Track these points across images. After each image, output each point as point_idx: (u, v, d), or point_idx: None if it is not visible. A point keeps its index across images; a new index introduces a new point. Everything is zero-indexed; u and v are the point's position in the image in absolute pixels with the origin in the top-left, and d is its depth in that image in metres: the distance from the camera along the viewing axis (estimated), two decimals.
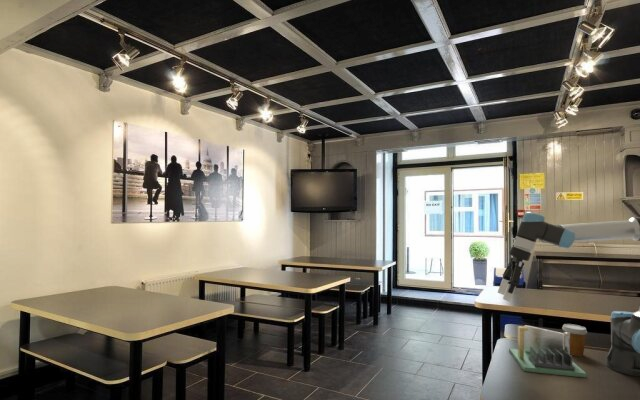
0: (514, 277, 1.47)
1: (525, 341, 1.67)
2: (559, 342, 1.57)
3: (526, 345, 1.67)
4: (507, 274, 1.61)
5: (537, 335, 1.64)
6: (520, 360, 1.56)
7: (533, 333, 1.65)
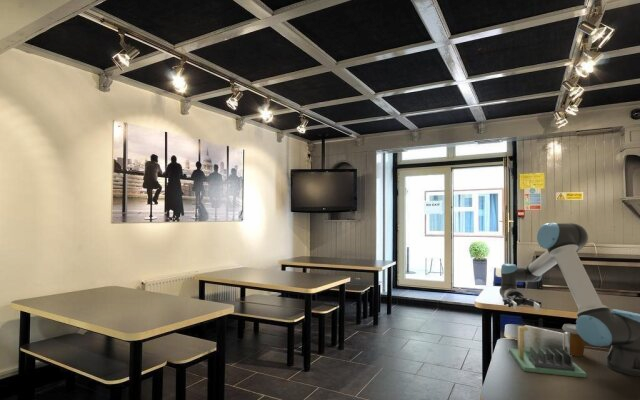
0: None
1: (525, 341, 1.67)
2: (559, 342, 1.57)
3: (526, 345, 1.67)
4: (530, 304, 1.80)
5: (537, 335, 1.64)
6: (520, 360, 1.56)
7: (533, 333, 1.65)
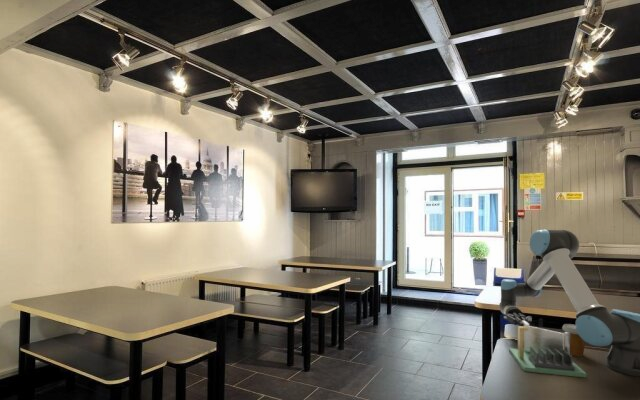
0: (512, 322, 1.81)
1: (525, 341, 1.67)
2: (559, 342, 1.57)
3: (526, 345, 1.67)
4: None
5: (537, 335, 1.64)
6: (520, 360, 1.56)
7: (533, 333, 1.65)
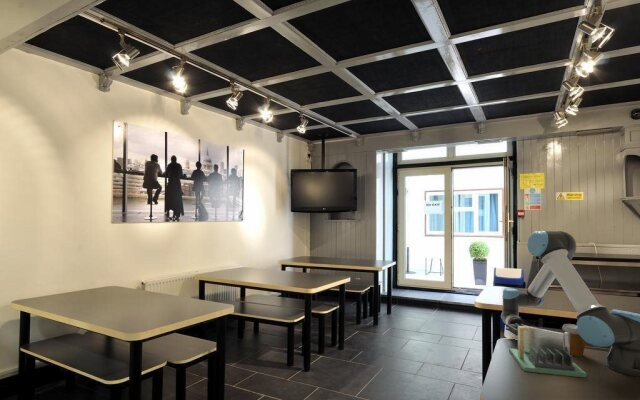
0: (513, 333, 1.77)
1: (524, 342, 1.66)
2: (559, 342, 1.57)
3: (525, 346, 1.66)
4: None
5: (536, 335, 1.63)
6: (520, 360, 1.56)
7: (532, 334, 1.64)
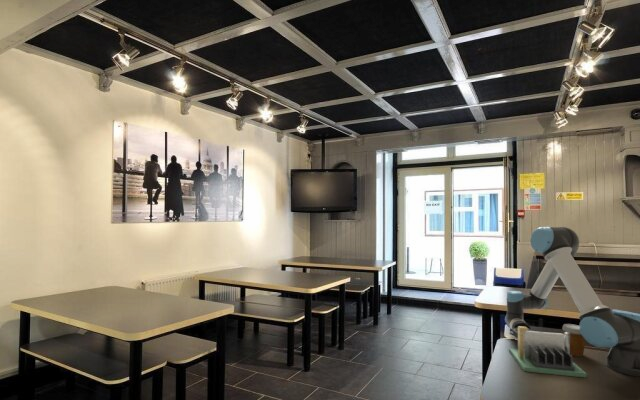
0: None
1: (525, 348, 1.59)
2: (560, 343, 1.56)
3: (527, 352, 1.58)
4: None
5: (538, 339, 1.58)
6: (520, 360, 1.56)
7: (534, 338, 1.58)
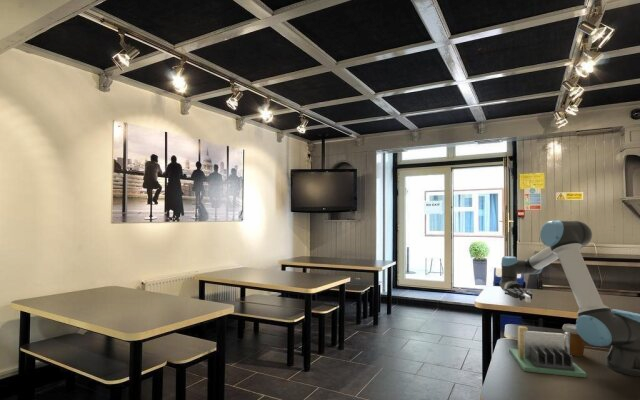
0: (513, 296, 1.81)
1: (525, 348, 1.58)
2: (560, 343, 1.56)
3: (527, 352, 1.58)
4: None
5: (538, 339, 1.58)
6: (520, 360, 1.56)
7: (534, 338, 1.58)
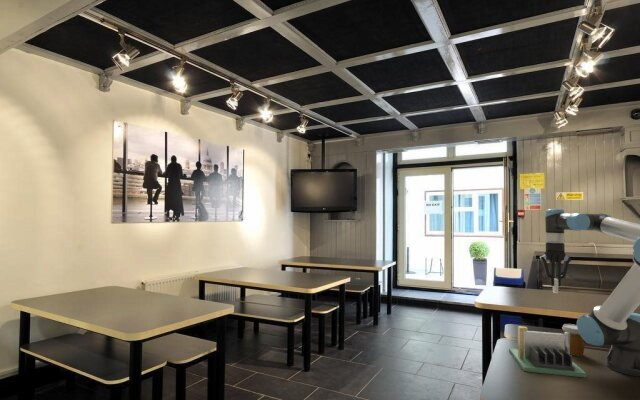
0: None
1: (525, 348, 1.58)
2: (560, 343, 1.56)
3: (527, 352, 1.58)
4: (556, 271, 1.75)
5: (538, 339, 1.58)
6: (520, 360, 1.56)
7: (534, 338, 1.58)
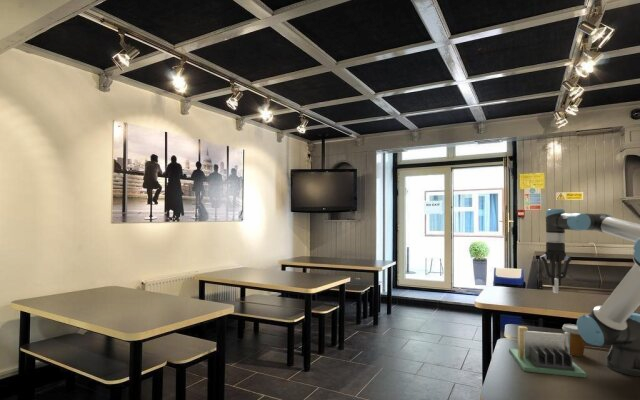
0: (545, 271, 1.77)
1: (525, 348, 1.58)
2: (560, 343, 1.56)
3: (527, 352, 1.58)
4: (556, 271, 1.75)
5: (538, 339, 1.58)
6: (520, 360, 1.56)
7: (534, 338, 1.58)
